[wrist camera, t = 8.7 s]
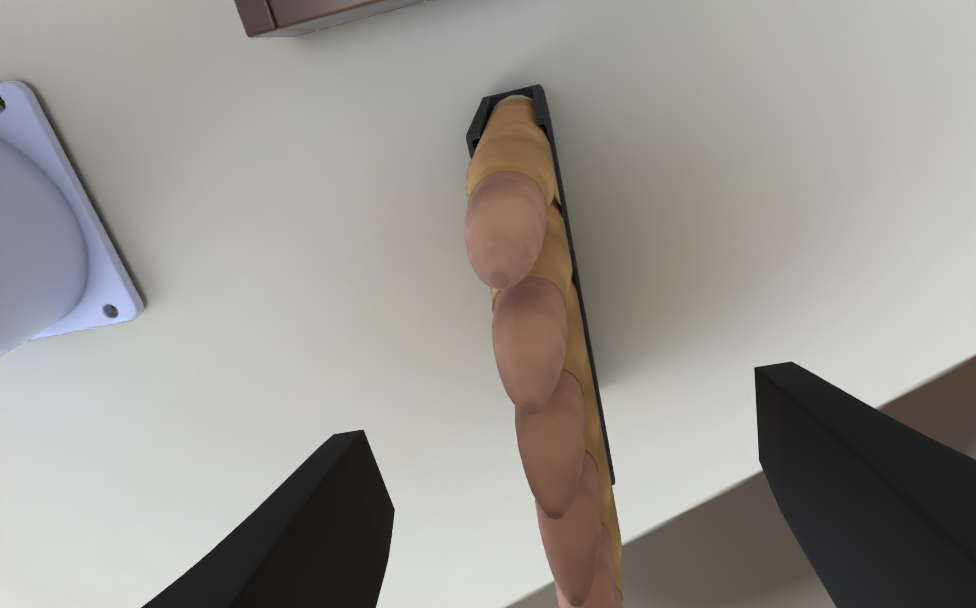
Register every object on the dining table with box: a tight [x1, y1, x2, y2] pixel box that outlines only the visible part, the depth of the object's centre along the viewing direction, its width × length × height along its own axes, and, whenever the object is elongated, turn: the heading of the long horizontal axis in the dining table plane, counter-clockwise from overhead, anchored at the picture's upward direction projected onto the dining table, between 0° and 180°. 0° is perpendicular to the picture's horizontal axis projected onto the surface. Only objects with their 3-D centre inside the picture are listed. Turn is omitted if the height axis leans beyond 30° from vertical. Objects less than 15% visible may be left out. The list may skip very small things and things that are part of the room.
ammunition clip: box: [465, 84, 623, 608], centre depth 14 cm, size 11×2×12 cm, turn 13°
